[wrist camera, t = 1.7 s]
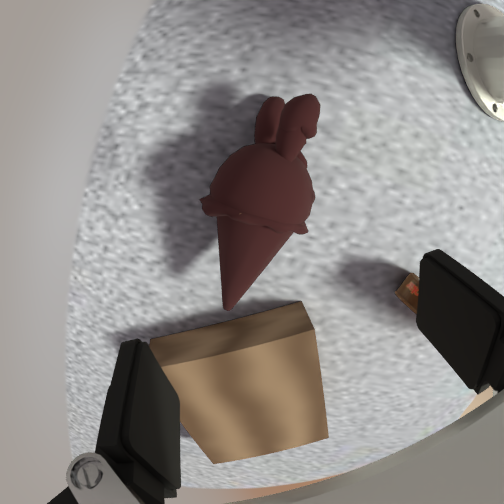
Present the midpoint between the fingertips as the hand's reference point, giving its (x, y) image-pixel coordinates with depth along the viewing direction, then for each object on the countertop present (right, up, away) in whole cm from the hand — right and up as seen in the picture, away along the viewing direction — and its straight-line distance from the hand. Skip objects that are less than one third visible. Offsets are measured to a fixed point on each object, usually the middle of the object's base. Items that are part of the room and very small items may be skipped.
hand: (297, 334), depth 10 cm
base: (-2, -11, +21) cm, 24 cm away
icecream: (-1, +7, +13) cm, 15 cm away
